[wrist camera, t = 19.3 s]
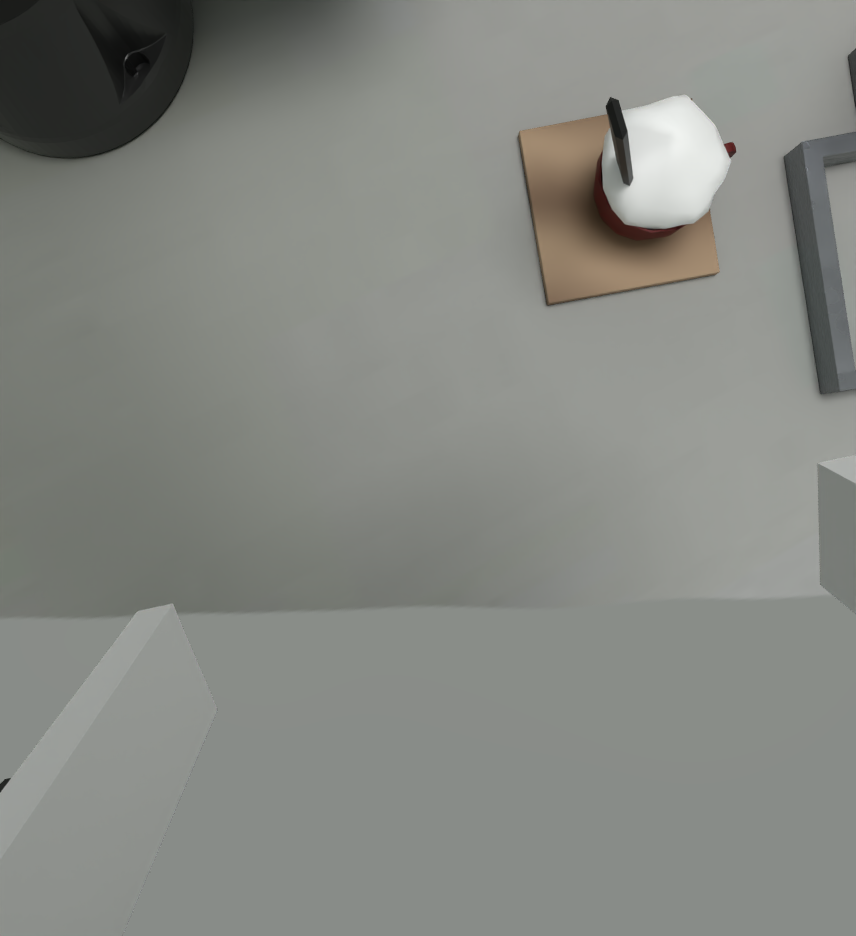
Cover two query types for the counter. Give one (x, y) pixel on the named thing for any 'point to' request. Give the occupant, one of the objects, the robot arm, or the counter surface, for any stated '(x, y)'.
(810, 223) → the ring stand
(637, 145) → the cocoa
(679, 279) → the walnut coaster
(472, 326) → the counter surface
